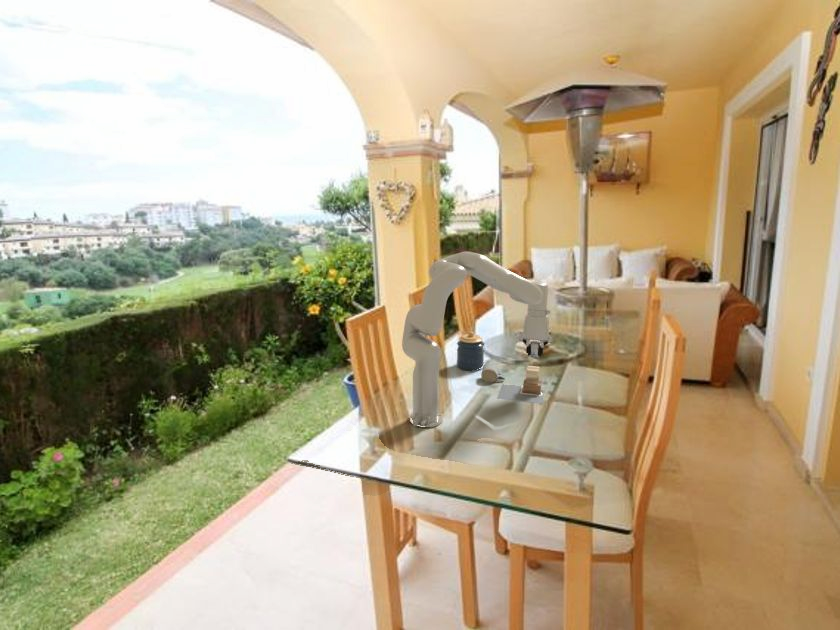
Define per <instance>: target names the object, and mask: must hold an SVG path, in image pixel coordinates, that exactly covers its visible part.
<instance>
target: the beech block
mask: <svg viewBox="0 0 840 630" xmlns="http://www.w3.org/2000/svg"><path fill="white" fill-rule="evenodd" d="M525 373H526V374H525V378H526V383H528V384H536V385H538V382H539V379H540V366H536V365H535V366H533V365H527V366H526V372H525Z"/></svg>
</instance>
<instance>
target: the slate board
mask: <svg viewBox="0 0 840 630" xmlns="http://www.w3.org/2000/svg"><path fill="white" fill-rule="evenodd" d="M544 396H545V393H544V394H543V393H542V392H541V393H540V395H537V394H529V393H523V386H522V387H521V386H515V385H509V386H508V385H504V384H503V385H502V384H501V386H500V389H499V392H498V394H497V397H496V398H497V399H498V400H508V401H516V402H523V403H525V402H526V403H533V404H540V405H541V404H544V403H543V402H544Z"/></svg>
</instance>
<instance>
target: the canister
mask: <svg viewBox="0 0 840 630" xmlns="http://www.w3.org/2000/svg"><path fill="white" fill-rule="evenodd" d="M483 340H484V338H483V337H482V336H480V335H478V334H475V333H474V332H473V331H469V332H468V333H466V334H463V335H462V336H460V337H459V338H458V341H457V343H456V344H457V349H456V351H457V353H456V354H457V355H456V356H457V358H456V359H457V360H456V365H457V368H458V369H460V370H463V371H466V372H467V371H468V372H473V371H472V370H477V369H479V368H481V367H482V366H484V365H485V362H484V356H485V355H484V354H485V353H484V352H485V349H484V346H485V342H484V341H483ZM483 364H484V365H483ZM477 371H478V370H477Z"/></svg>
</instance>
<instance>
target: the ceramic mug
mask: <svg viewBox="0 0 840 630" xmlns="http://www.w3.org/2000/svg"><path fill="white" fill-rule="evenodd" d="M500 370H501V369H500V366H499V365H498V364H496V363H495V362H492V361H491V362H486V363H484V365H483V368H482V369H481V375H480V376H481V379H482V381H483V382H485V383H502V382H501V381H503V380H502V379H501V378H499V377H498V375H502V373H500Z"/></svg>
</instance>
